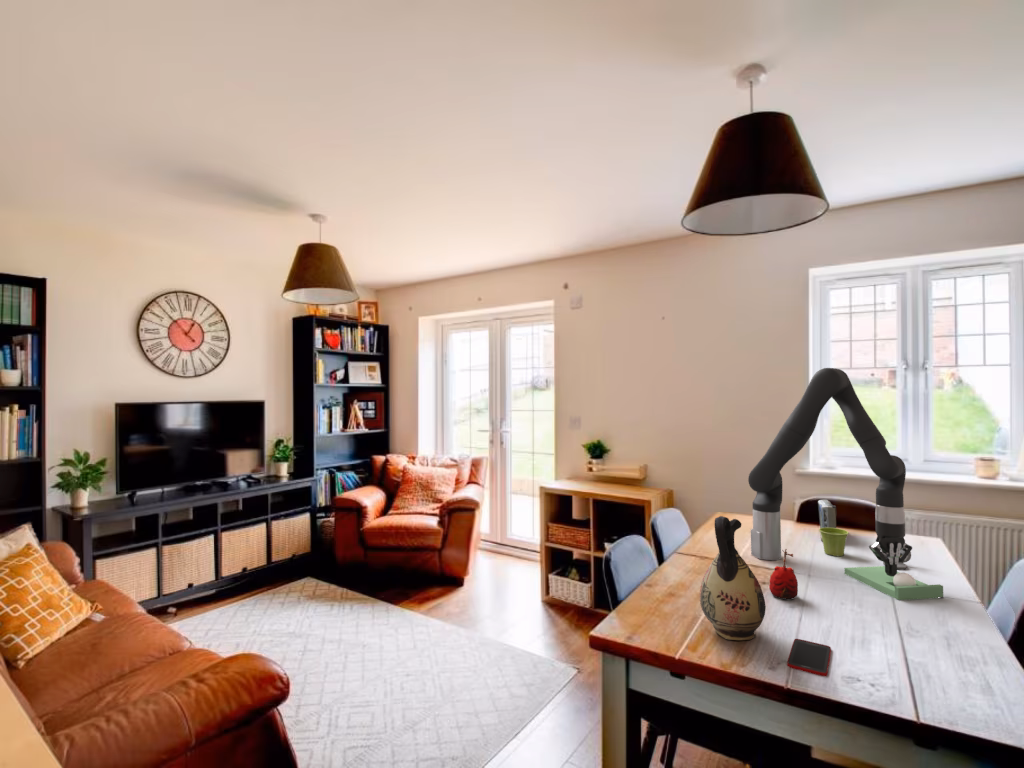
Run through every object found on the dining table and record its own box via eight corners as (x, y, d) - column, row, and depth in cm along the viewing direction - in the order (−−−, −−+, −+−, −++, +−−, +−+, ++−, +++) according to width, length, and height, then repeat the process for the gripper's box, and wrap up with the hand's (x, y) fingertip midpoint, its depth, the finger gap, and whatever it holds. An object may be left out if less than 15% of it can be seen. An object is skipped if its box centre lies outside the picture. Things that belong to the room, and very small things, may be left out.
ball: (893, 568, 158) (885, 581, 161) (906, 584, 153) (898, 596, 156) (910, 568, 158) (902, 580, 161) (924, 583, 153) (915, 596, 156)
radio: (818, 528, 229) (818, 494, 230) (842, 531, 225) (841, 496, 225) (815, 541, 210) (814, 504, 210) (840, 544, 205) (839, 507, 205)
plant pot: (855, 557, 189) (854, 534, 189) (828, 558, 189) (828, 534, 189) (839, 550, 198) (838, 527, 198) (814, 550, 198) (813, 527, 198)
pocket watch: (884, 568, 178) (884, 538, 178) (880, 561, 185) (880, 532, 185) (914, 571, 174) (913, 541, 174) (909, 564, 181) (908, 535, 181)
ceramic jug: (711, 614, 143) (709, 505, 143) (772, 630, 133) (770, 513, 134) (688, 637, 130) (686, 517, 130) (754, 656, 120) (751, 527, 121)
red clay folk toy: (795, 593, 157) (793, 543, 157) (801, 602, 150) (800, 550, 150) (767, 591, 159) (766, 542, 159) (772, 600, 152) (771, 548, 152)
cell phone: (831, 650, 123) (831, 646, 123) (827, 679, 111) (826, 674, 111) (794, 641, 128) (794, 637, 128) (786, 668, 116) (786, 663, 116)
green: (898, 600, 151) (898, 587, 151) (844, 573, 173) (844, 563, 173) (943, 597, 152) (943, 585, 152) (884, 572, 174) (883, 561, 174)
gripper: (879, 523, 158) (880, 580, 158) (920, 522, 159) (921, 579, 158) (860, 517, 165) (862, 572, 165) (900, 516, 166) (901, 570, 166)
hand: (891, 575), depth 162 cm, fingers closed
